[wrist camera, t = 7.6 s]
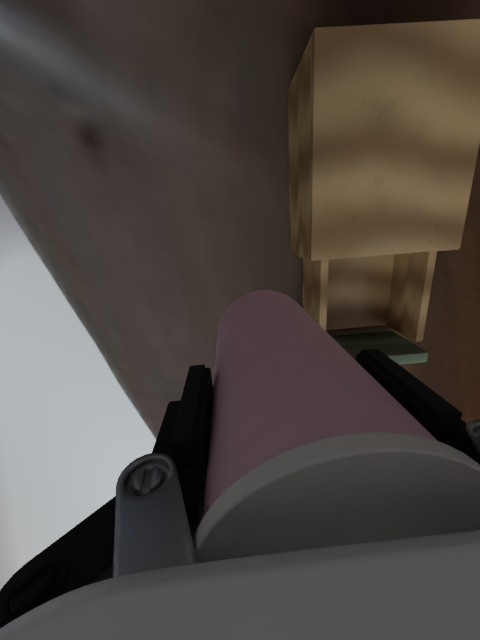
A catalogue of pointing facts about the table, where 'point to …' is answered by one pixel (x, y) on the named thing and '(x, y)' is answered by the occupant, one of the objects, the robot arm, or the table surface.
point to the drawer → (372, 300)
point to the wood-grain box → (383, 138)
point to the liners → (316, 446)
